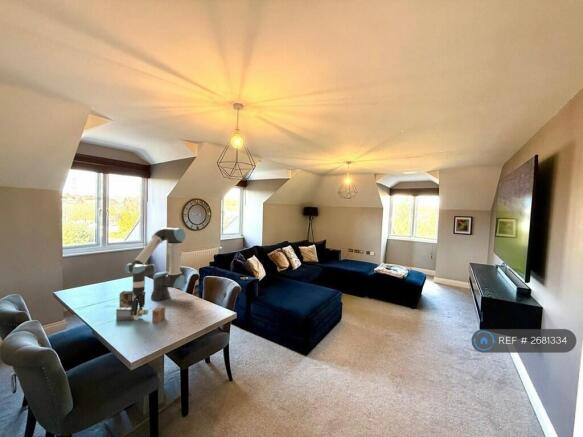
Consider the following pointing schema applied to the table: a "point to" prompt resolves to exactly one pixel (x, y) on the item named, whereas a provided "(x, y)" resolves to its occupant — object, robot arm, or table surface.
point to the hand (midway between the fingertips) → (138, 317)
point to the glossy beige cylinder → (141, 312)
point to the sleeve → (124, 313)
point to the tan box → (158, 314)
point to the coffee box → (126, 298)
